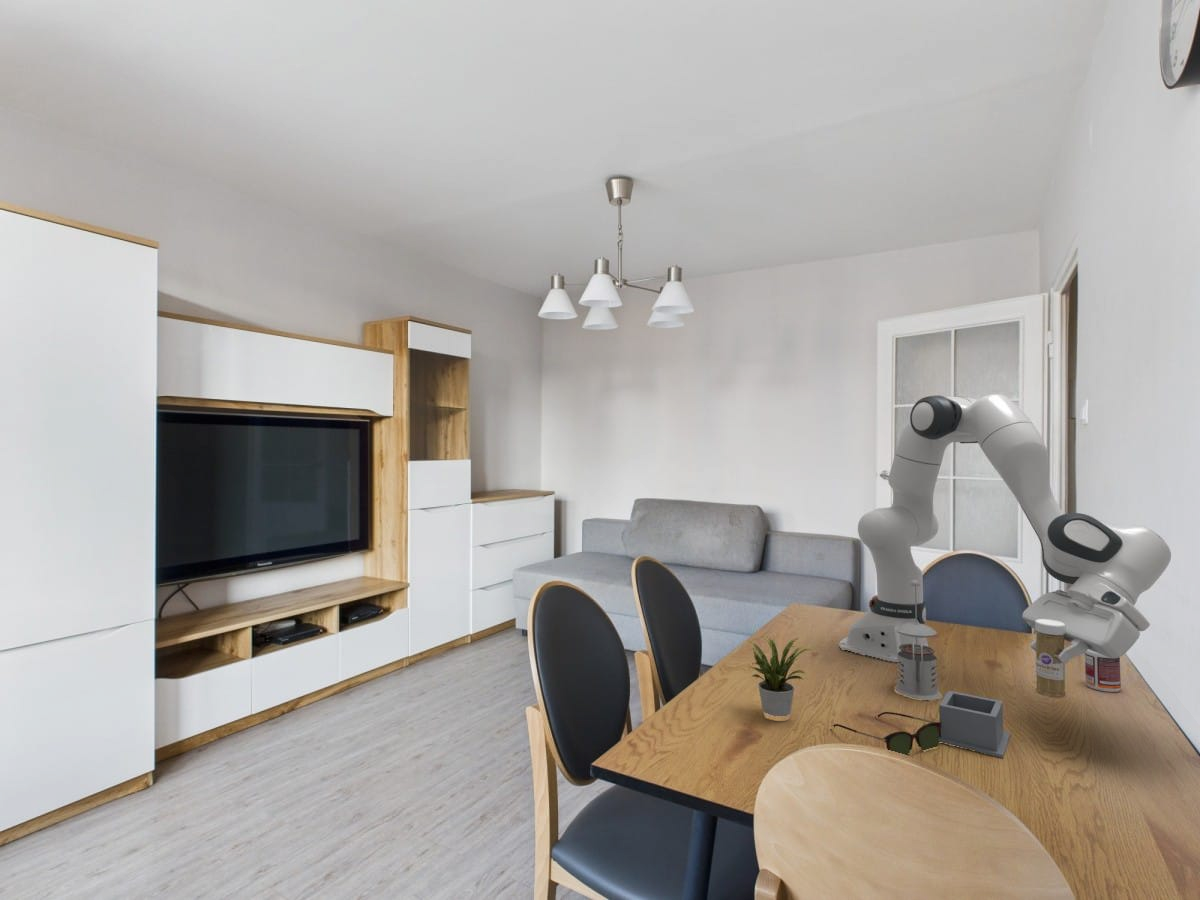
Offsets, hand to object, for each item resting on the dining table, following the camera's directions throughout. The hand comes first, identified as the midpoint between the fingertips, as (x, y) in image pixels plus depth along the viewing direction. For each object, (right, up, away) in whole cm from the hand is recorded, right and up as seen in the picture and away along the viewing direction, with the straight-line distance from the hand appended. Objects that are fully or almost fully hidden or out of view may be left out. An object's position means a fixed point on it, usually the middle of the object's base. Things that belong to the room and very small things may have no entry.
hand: (1047, 655), depth 116 cm
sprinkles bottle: (+1, -7, 0) cm, 7 cm away
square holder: (-13, -16, +1) cm, 21 cm away
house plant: (-45, -17, +12) cm, 50 cm away
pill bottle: (+30, -16, +25) cm, 42 cm away
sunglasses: (-30, -17, +2) cm, 34 cm away
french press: (-12, -16, +23) cm, 31 cm away
